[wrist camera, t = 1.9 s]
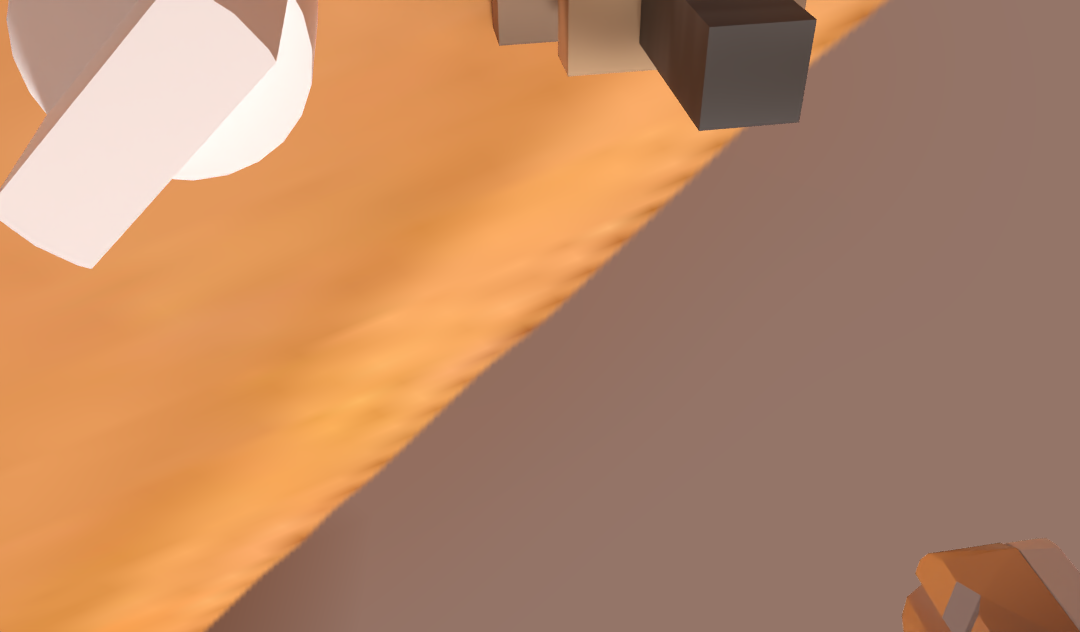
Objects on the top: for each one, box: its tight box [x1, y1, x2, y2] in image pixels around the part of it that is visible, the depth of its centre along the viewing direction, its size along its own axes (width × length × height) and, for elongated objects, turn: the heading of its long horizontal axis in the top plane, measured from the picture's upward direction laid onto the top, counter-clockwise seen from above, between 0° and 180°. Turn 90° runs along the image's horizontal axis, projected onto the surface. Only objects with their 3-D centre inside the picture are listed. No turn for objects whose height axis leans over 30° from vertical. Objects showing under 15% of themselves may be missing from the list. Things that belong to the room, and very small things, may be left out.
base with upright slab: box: [0, 0, 318, 269], centre depth 29 cm, size 9×9×12 cm
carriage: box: [558, 0, 816, 131], centre depth 29 cm, size 5×8×9 cm, turn 91°
